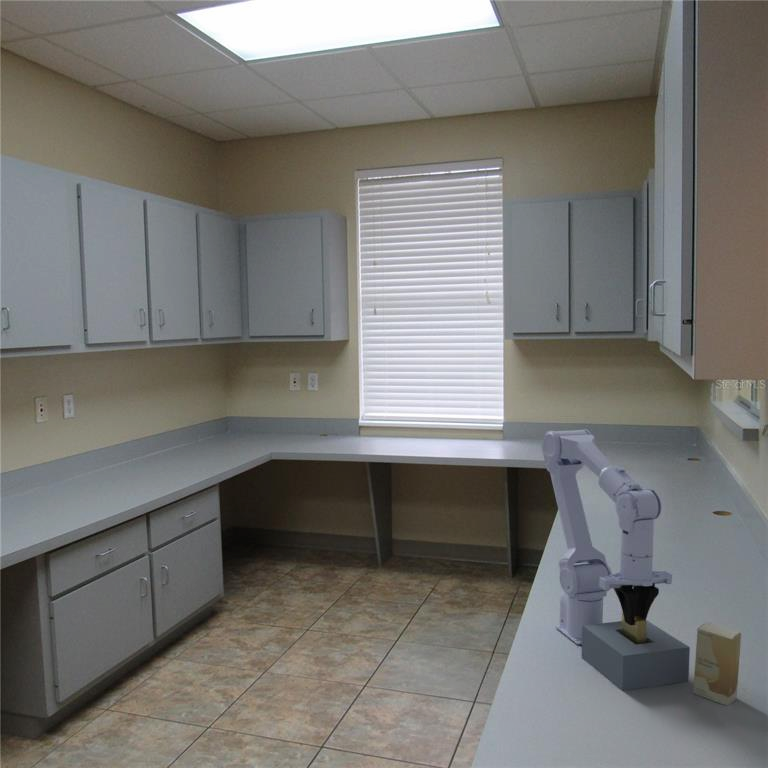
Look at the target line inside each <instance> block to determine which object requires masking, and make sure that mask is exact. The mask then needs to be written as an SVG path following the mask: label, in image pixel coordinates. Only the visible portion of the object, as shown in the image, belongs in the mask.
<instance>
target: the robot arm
mask: <svg viewBox="0 0 768 768" xmlns="http://www.w3.org/2000/svg"><path fill="white" fill-rule="evenodd" d="M541 452H542V454H543V455H542V456H543V459H544V464H545V468H546V470H547V472H549V475H550V479H551V482H552V487H553V488H552V489H553V492H554V496H555V500H556V505H557V509H558V513H559V514H558V515H559V517H560V521H561V526H562V531H563V535H564V540H565V545H566V549H567V551H566V552H565V554H563V556H562V557H561V558H560V560H559V561H558V566H559V585H560V586H561V589H562V591H563V592H562V593H561V596H560V599H559V624H556V625H555V628H556V629H557V630H558V631H559V632H561V633H562V634H563V635H564V636H566V637H567V638H569V640H571V641H572V642H573V643H574V644H576V645H582V626H583V625H592V624H600V623H604V622H603V621H604V619H603V618H604V598H605V597H607V595H608V594H607V592H609V591H610V590H611V589H613V591H614V593H615V594H616V596H617V599H618V601H619V603H620V606H621V610H622V613H623V615H624V621H625V622H626V623H627V624H629V625H633V624H634V620H635V615H637V616H639V617H641V618H643V619H645V620H647V619H648V618H647V617H648V615H649V612H650V608H652V607H651V606H652V604H653V602H654V601H655V599H656V598H657V597H658V596H659V593H660V588H659V587H657V586H656V585H659V584H660V585H661V584H665V585H672V582H673V574H672V573H670V572H668V571H667V570H660V571H655V570H653V564H654V563H653V560H654V559H653V558H654V557H653V556H654V535H655V533H654V532H655V531H654V530H655V526H654V525H655V524H654V523H655V520H657V519H658V518H659V517H660V516H661V512H662V501H661V498H660V496H659V494H658V493H657V492H656V491H655V489H653V488H646V487H644V486H640V484H639V482H637V481H636V480H635V479H633V477H631V475H629V473H627V471H626V469H625V468H624V466H619V465H612V464H611V462H609V460H608V459H607V457H605V455H604V454H603V453H602V452H601V450H600V449H599V448H598V446H597V442H596V437H595V435H593V434H592V433H591V431H589V430H588V429H586V428H584V429H583V428H582V429H575V430H556V431H555V430H548V431H547V432H546V433H545V435H544V437H543V440H542V442H541ZM584 467H586V468H588V469H589V470H590V471H591V472H592V473H593V474H594V475H596V476H597V477H598V486H599V488H601V490H602V491H604V493H605V494H606V495H607V497H609V498H610V499H611V500H612V501H613V502H614V504H615V505H614V506H615V510H616V515H617V517H618V526H619V528H620V529H621V538H620V539H621V545H620V547H621V548H620V569H619V571H620V572H616V573H612V569H611V568H610V566H609V564H608V563H607V560H606V556H605V554H604V553H603V552H602V551H599V550H598V549H597V548H595V547H594V545H593V542H592V539H591V536H590V531H589V527H588V523H587V518H586V514H585V510H584V506H583V501H582V497H581V493H580V490H579V485H578V480H577V473H578V472H579V471H580V470H582V469H583V468H584Z"/></svg>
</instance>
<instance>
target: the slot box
mask: <svg viewBox="0 0 768 768" xmlns="http://www.w3.org/2000/svg"><path fill="white" fill-rule="evenodd" d="M646 625H647V643H646V644H638V645H636V644H634V643H633V642H631V641H630V640H628V639H627V638H626V637H624V636H623V635H622V620H619V621H609V622H603V623H600V624H592V625H583V626H582V644H581V658H582V659H583V660H584V661H585V662H587V663H588V664H589V665H590V666H591V667H593V668H594V669H595V670H596V671H598V673H600V674H601V675H602V676H603V677H604V678H606V679H607V680H609V681H610V682H611V683H612V684H613V685H615V686H616V687H617V688H618V689H619V690H621V691H629V690H637V689H643V688H650V687H651V688H652V687H658V686H665V685H672V684H679V683H686V682H689V680H690V676H689V675H690V654H691V653H690V652H691V651H690V650H691V647H690V646H689V645H687V644H685V643H684V642H682V641H681V640H679V639H677V638H676V637H675V636H674V635H673V636H672V635H671V634H669V633H668V632H666V631H664V630H663V629H661V628H660V627H658V626H656V625H655V624H653V623H652V622H650V621H648V620H647V619H646Z"/></svg>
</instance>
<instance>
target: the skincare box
mask: <svg viewBox="0 0 768 768" xmlns="http://www.w3.org/2000/svg"><path fill="white" fill-rule="evenodd" d="M696 634H697V635H696V645H695V646H696V648H695V661H694V678H693V691H692V692H693V694H696V695H697V696H700V697H702V698H706V699H709V700H711V701H714V702H716V703H718V704H722V705H724V706H726V707H727V706H729V705H730V704H732V703H733V702H734V701H735V700H736V699H737V697H738V696H737V695H738V685H739V684H738V682H739V670H740V669H739V668H740V654H741V641H742V632H741V631H737V630H734V629H730V628H728V627H725V626H721V625H717V624H714V623H712V622H705V623H703V624H702V625H700V626H699V627H698V628H697V633H696Z"/></svg>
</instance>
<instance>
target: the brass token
mask: <svg viewBox="0 0 768 768" xmlns="http://www.w3.org/2000/svg"><path fill="white" fill-rule="evenodd" d="M646 620H647V619H646ZM646 620H645V619H643V618H641V617H639V616H637V615H635V620H634V624H633V625H629V624H627V623H626V622H625V621H624V615H623V612H621V621H622V635H623V636H624V637H626V638H627V639H628V640H630V641H631V642H633V643H634V644H636V645H638V644H646V643H647V625H646Z"/></svg>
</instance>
